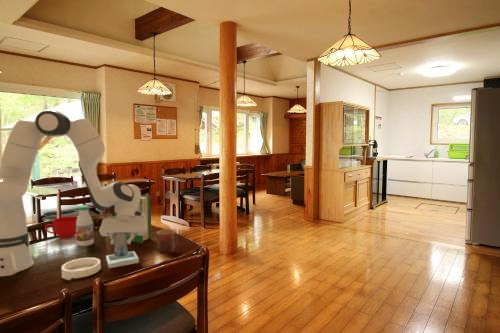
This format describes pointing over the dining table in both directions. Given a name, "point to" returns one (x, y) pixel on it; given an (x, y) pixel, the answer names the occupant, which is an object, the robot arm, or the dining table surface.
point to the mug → (166, 240)
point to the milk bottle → (84, 227)
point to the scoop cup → (120, 244)
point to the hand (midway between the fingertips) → (120, 243)
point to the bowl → (80, 268)
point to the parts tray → (122, 259)
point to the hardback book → (145, 208)
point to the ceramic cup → (64, 227)
